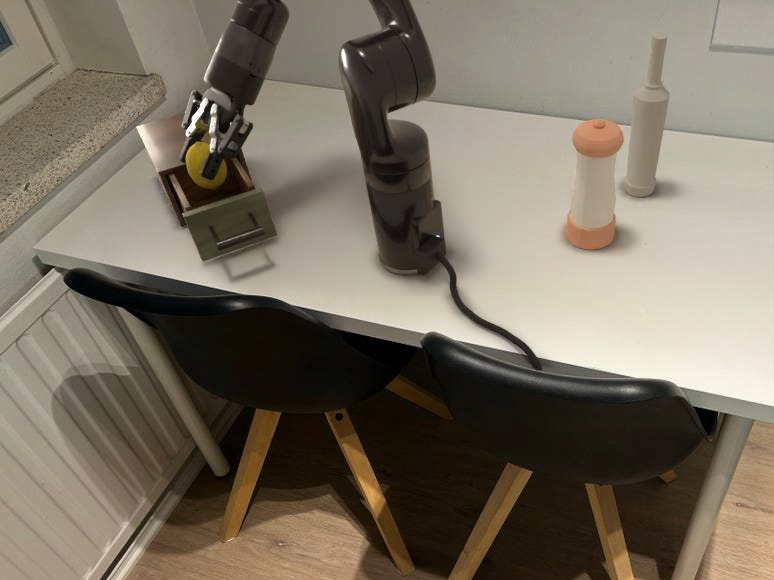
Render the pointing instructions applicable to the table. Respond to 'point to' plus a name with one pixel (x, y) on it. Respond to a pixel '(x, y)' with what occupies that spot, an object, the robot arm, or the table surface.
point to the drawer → (224, 212)
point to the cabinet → (171, 153)
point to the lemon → (195, 163)
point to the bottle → (647, 125)
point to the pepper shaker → (594, 184)
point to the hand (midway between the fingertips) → (195, 170)
